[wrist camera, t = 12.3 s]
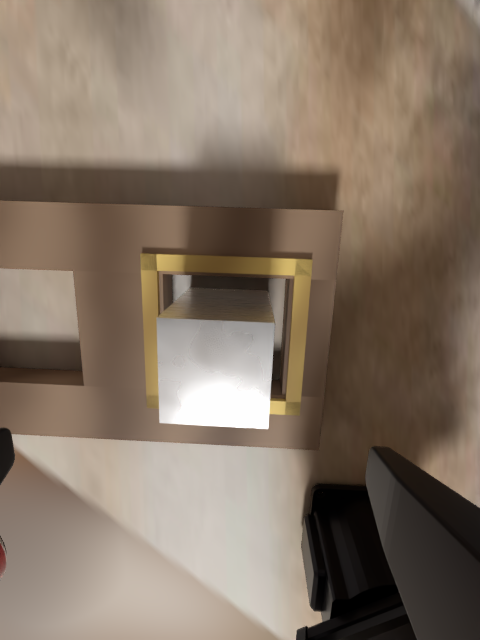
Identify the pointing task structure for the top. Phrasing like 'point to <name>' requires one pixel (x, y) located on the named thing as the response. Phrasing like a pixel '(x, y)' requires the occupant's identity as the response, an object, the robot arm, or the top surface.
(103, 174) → the top surface
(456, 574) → the robot arm
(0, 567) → the soda can
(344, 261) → the top surface
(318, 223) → the rail plate
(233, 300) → the white rectangular block
